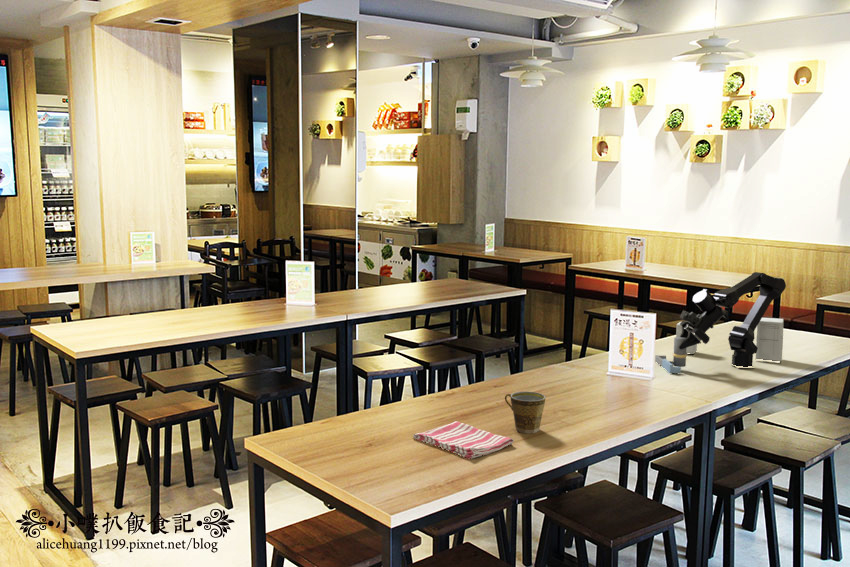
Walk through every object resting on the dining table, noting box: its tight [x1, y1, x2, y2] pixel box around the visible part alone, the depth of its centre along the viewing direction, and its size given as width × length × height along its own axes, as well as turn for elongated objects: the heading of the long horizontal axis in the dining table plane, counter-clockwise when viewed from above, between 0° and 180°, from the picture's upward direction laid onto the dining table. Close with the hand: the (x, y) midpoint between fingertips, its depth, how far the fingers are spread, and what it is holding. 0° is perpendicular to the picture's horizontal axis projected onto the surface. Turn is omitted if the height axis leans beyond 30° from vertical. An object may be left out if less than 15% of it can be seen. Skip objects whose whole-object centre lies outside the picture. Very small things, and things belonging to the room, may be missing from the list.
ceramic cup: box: [504, 391, 546, 434], centre depth 220 cm, size 13×10×10 cm
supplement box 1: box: [675, 321, 698, 354], centre depth 319 cm, size 7×7×13 cm
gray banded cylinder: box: [672, 336, 687, 368], centre depth 288 cm, size 5×5×10 cm
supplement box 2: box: [755, 317, 784, 362], centre depth 305 cm, size 10×9×17 cm
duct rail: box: [654, 354, 682, 374], centre depth 294 cm, size 4×20×4 cm, turn 178°
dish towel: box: [412, 420, 515, 460], centre depth 209 cm, size 17×23×4 cm
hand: (677, 347), depth 288 cm, fingers closed on gray banded cylinder, 4 cm apart
